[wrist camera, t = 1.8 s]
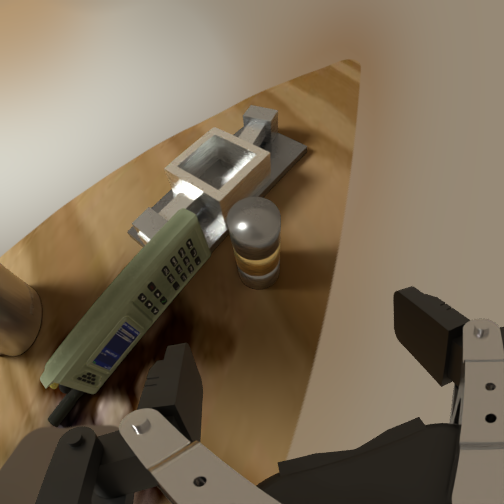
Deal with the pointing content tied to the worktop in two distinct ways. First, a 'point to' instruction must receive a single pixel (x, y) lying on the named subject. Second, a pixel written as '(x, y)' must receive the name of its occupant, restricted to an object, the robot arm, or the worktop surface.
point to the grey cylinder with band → (256, 240)
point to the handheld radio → (126, 311)
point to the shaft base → (222, 175)
